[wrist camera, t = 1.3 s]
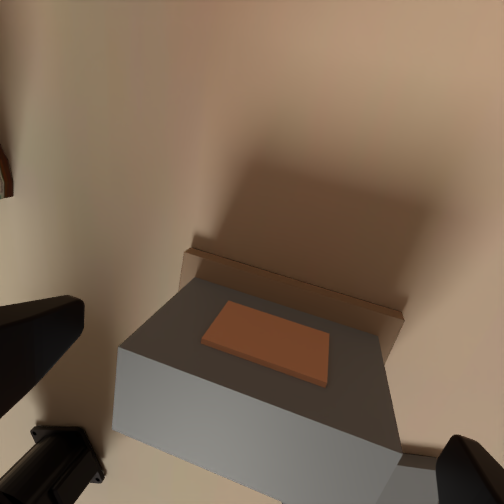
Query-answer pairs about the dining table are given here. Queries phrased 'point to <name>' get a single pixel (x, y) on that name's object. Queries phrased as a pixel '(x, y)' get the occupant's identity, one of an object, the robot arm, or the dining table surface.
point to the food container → (5, 176)
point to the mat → (411, 482)
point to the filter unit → (265, 383)
